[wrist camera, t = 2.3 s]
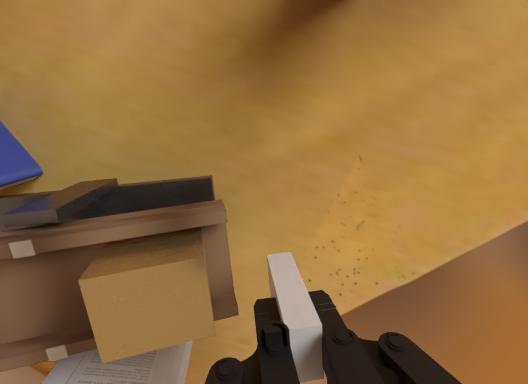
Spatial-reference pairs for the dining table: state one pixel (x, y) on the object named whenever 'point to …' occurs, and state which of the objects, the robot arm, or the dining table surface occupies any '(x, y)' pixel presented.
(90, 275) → the block
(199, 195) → the stand
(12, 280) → the brown wooden trough
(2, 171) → the hard drive
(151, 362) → the photo printer
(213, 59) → the dining table surface
